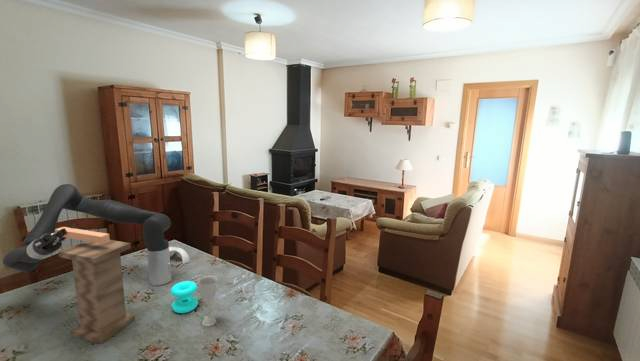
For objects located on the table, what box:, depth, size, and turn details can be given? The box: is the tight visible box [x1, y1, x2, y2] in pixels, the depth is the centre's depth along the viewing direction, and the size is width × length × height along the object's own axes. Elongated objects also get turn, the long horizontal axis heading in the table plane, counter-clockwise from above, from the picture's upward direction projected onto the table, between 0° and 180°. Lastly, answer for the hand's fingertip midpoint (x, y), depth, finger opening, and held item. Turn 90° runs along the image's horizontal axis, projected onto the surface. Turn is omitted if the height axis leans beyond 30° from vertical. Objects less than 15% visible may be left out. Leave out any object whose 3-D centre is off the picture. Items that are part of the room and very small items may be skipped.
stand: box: [57, 239, 136, 345], centre depth 112 cm, size 16×14×32 cm
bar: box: [54, 226, 111, 244], centre depth 110 cm, size 22×3×2 cm, turn 74°
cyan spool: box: [170, 280, 199, 314], centre depth 128 cm, size 10×10×10 cm
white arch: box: [169, 246, 191, 265], centre depth 174 cm, size 24×12×7 cm, turn 65°
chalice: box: [197, 274, 218, 327], centre depth 119 cm, size 7×7×18 cm
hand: (70, 229), depth 112 cm, fingers closed on bar, 3 cm apart
